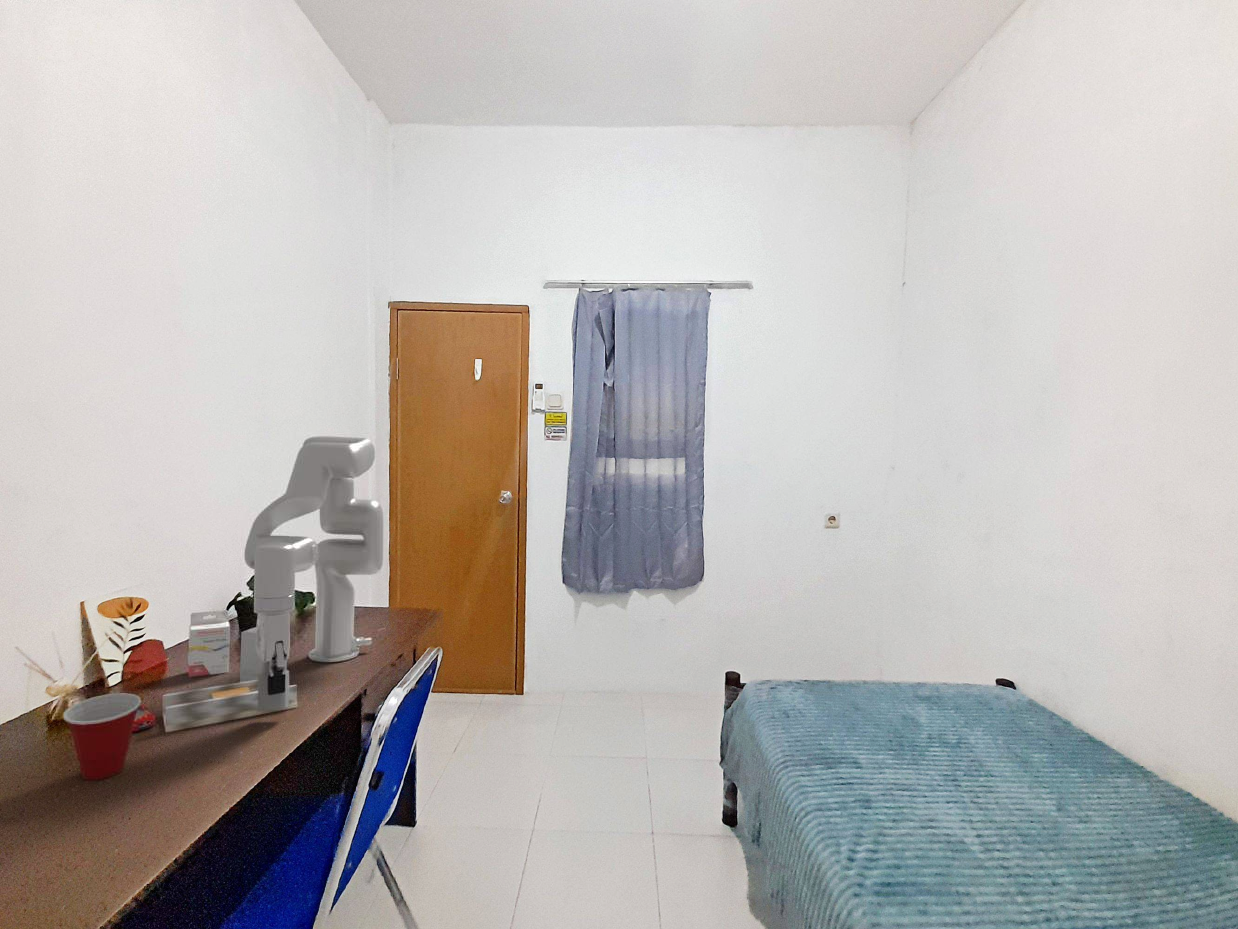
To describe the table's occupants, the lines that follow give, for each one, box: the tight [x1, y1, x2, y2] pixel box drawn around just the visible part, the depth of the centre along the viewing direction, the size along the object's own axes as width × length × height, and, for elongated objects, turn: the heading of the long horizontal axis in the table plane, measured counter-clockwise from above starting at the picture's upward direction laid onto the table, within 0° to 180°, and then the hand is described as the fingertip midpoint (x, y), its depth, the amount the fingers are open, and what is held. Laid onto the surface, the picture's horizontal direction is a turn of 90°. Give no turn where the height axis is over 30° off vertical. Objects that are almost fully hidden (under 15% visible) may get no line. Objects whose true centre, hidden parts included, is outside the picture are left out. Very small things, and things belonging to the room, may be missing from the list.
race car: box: [132, 704, 156, 733], centre depth 138 cm, size 13×5×4 cm, turn 58°
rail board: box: [161, 680, 298, 733], centre depth 146 cm, size 24×10×4 cm, turn 127°
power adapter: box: [258, 661, 290, 711], centre depth 142 cm, size 3×5×12 cm, turn 96°
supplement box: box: [239, 626, 288, 682], centre depth 164 cm, size 7×7×13 cm
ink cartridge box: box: [187, 609, 231, 678], centre depth 168 cm, size 9×5×15 cm, turn 123°
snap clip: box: [211, 687, 250, 699], centre depth 146 cm, size 7×6×1 cm
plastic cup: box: [62, 692, 142, 781], centre depth 118 cm, size 11×11×12 cm
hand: (273, 687), depth 142 cm, fingers closed on power adapter, 4 cm apart
